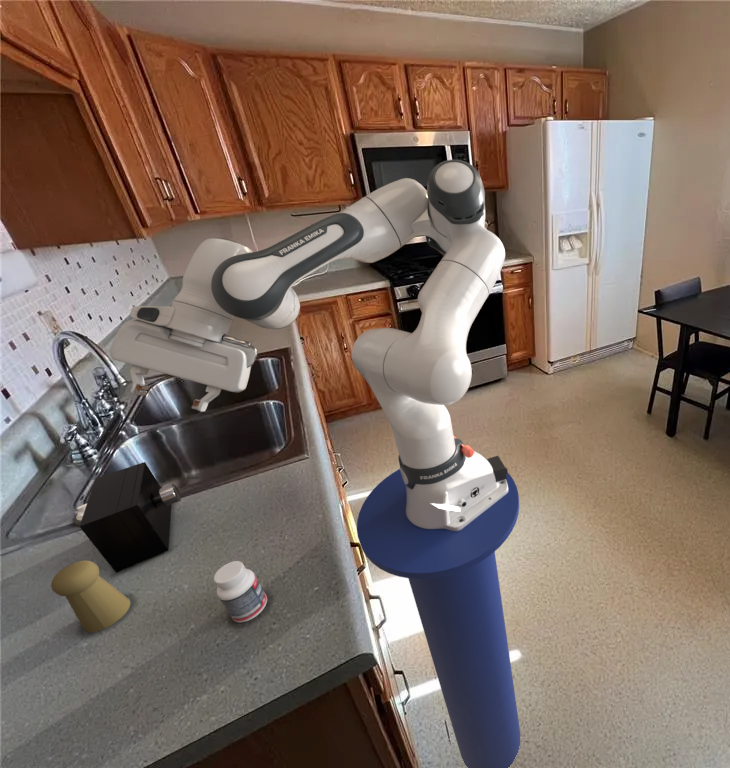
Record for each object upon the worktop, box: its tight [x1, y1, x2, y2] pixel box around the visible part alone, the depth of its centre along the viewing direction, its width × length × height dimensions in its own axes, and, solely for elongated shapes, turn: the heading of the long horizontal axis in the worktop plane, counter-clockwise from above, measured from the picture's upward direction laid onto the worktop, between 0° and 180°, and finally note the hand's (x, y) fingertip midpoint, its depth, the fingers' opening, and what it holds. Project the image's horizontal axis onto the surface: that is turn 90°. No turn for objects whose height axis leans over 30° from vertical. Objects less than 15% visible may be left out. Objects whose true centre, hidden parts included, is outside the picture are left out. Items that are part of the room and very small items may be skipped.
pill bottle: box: [213, 560, 268, 624], centre depth 66 cm, size 5×5×9 cm
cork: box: [50, 560, 131, 634], centre depth 66 cm, size 6×6×11 cm
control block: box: [78, 461, 173, 574], centre depth 81 cm, size 8×16×12 cm, turn 35°
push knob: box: [150, 483, 182, 506], centre depth 83 cm, size 5×4×4 cm
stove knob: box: [73, 503, 87, 527], centre depth 90 cm, size 7×7×3 cm
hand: (168, 402), depth 71 cm, fingers open, 8 cm apart
